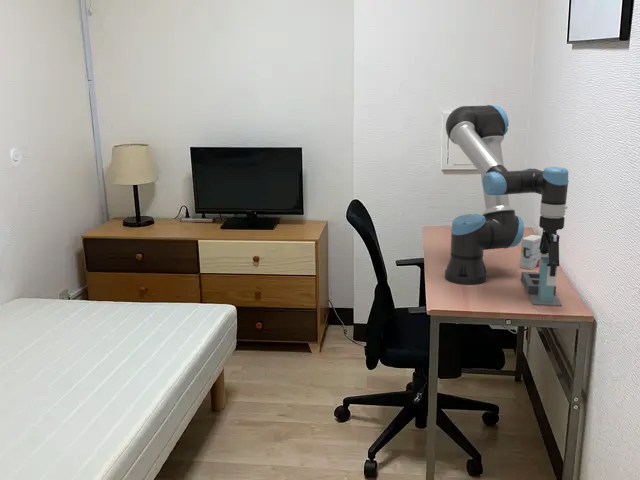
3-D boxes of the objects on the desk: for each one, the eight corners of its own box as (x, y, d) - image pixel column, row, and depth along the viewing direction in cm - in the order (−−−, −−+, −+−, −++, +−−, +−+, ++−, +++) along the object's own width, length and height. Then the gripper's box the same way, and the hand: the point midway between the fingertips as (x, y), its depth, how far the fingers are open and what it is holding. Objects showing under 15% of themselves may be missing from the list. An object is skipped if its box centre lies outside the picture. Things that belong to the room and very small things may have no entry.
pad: (561, 306, 207) (562, 305, 206) (533, 304, 208) (533, 303, 208) (556, 296, 215) (556, 295, 215) (528, 295, 216) (528, 294, 216)
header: (555, 295, 217) (556, 287, 216) (528, 294, 218) (528, 285, 217) (546, 280, 232) (547, 272, 231) (521, 279, 233) (521, 271, 232)
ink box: (529, 262, 254) (531, 234, 251) (541, 265, 251) (543, 236, 248) (519, 267, 248) (521, 238, 245) (531, 270, 245) (533, 240, 242)
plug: (553, 302, 209) (556, 261, 206) (539, 301, 210) (543, 260, 206) (550, 297, 213) (553, 257, 210) (537, 297, 214) (540, 257, 210)
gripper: (573, 225, 192) (567, 291, 197) (556, 208, 216) (551, 268, 221) (547, 224, 193) (541, 290, 198) (533, 207, 217) (528, 267, 222)
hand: (546, 278), depth 210 cm, fingers open, 13 cm apart
